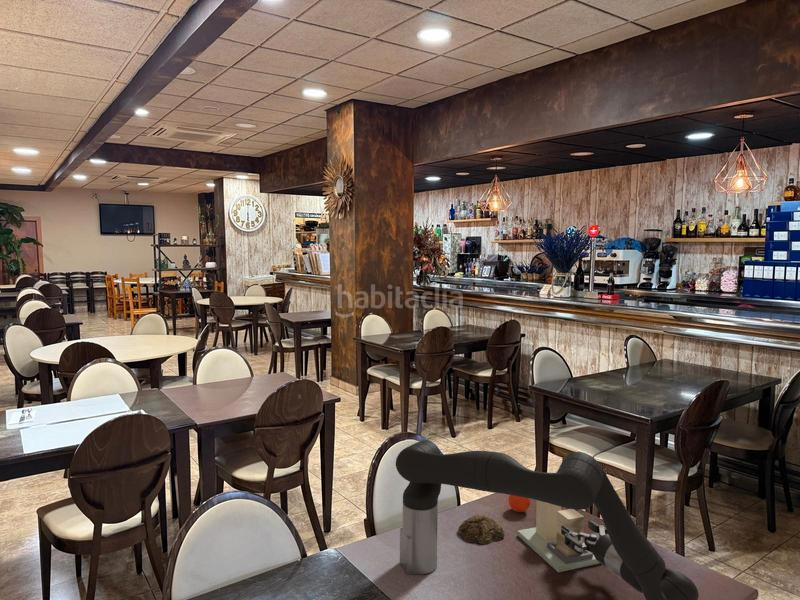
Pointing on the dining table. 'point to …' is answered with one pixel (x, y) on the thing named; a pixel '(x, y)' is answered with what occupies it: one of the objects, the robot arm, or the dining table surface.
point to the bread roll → (481, 530)
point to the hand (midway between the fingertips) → (575, 526)
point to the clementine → (519, 503)
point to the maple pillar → (573, 523)
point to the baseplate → (552, 540)
